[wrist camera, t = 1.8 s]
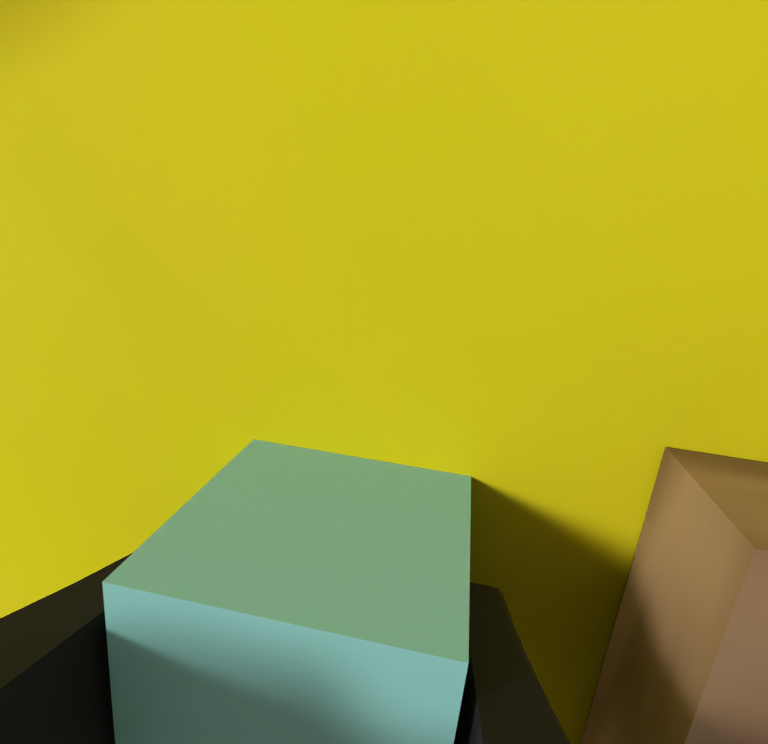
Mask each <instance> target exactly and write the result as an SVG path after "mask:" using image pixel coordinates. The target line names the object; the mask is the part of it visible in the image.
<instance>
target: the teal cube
mask: <svg viewBox="0 0 768 744" xmlns="http://www.w3.org/2000/svg"><path fill="white" fill-rule="evenodd" d="M470 528H471V476H465V475H459V474H453V473H447V472H442V471H436V470H430V469H424V468H418V467H412V466H406V465H401V464H395V463H389V462H383V461H377V460H371V459H365V458H360V457H354V456H348V455H342V454H336V453H330V452H324V451H319V450H313V449H307V448H301V447H295V446H289V445H283V444H278V443H272V442H266V441H260V440H253V441H252V442H251V443H249V444H248V445H247V446H246V447H245V448H244V449H243V450H242V451H241V452H240V453H239V454H238V455H237V456H236V457H235V458H234V459H232V460H231V461H230V462H229V463H228V464H227V465H226V466H225V467H224V468H223V469H222V470H221V471H220V472H219V473H218V474H216V475H215V476H214V477H213V478H212V479H211V480H210V481H209V482H208V483H207V484H206V485H205V486H204V487H203V488H202V489H201V490H199V491H198V492H197V493H196V494H195V495H194V496H193V497H192V498H191V499H190V500H189V501H188V502H187V503H186V504H185V505H184V506H182V507H181V508H180V509H179V510H178V511H177V512H176V513H175V514H174V515H173V516H172V517H171V518H170V519H169V520H168V521H166V522H165V523H164V524H163V525H162V526H161V527H160V528H159V529H158V530H157V531H156V532H155V533H154V534H153V535H152V536H151V537H149V538H148V539H147V540H146V541H145V542H144V543H143V544H142V545H141V546H140V547H139V548H138V549H137V550H136V551H135V552H133V553H132V554H131V555H130V556H129V557H128V558H127V559H126V560H125V561H124V562H123V563H122V564H121V565H120V566H119V567H118V568H116V569H115V570H114V571H113V572H112V573H111V574H110V575H109V576H108V577H107V578H106V579H105V580H104V581H103V582H102V585H103V598H104V610H105V623H106V635H107V648H108V660H109V673H110V685H111V698H112V710H113V723H114V735H115V744H454V739H455V734H456V728H457V723H458V717H459V712H460V707H461V701H462V696H463V690H464V685H465V680H466V674H467V669H468V663H469V597H470Z"/></svg>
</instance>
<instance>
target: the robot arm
mask: <svg viewBox="0 0 768 744" xmlns="http://www.w3.org/2000/svg"><path fill="white" fill-rule="evenodd" d="M131 554H132V553H131ZM131 554H129V555H128V556H126V557H124V558H122V559H120V560H118V561H116V562H114V563H112V564H110V565H108V566H107V567H105V568H103V569H101V570H99V571H97V572H95V573H93V574H91V575H89V576H87V577H85V578H83V579H81V580H80V581H78V582H76V583H74V584H72V585H70V586H68V587H65V588H63V589H61V590H59V591H57V592H55V593H53V594H51V595H49V596H47V597H45V598H42V599H40V600H38V601H36V602H34V603H32V604H30V605H28V606H26V607H24V608H22V609H19V610H17V611H15V612H13V613H11V614H9V615H7V616H5V617H3V618H0V744H115V735H114V723H113V710H112V698H111V685H110V673H109V660H108V648H107V635H106V623H105V610H104V598H103V585H102V582H103V581H104V580H105V579H106V578H107V577H108V576H109V575H110V574H111V573H112V572H113V571H114V570H115V569H116V568H118V567H119V566H120V565H121V564H122V563H123V562H124V561H125V560H126V559H127V558H128V557H129V556H130V555H131ZM454 744H570V742H569V740H568V738H567V736H566V735H565V733H564V731H563V729H562V727H561V725H560V723H559V721H558V719H557V717H556V716H555V714H554V712H553V710H552V708H551V706H550V704H549V702H548V700H547V697H546V695H545V693H544V691H543V689H542V687H541V685H540V683H539V681H538V679H537V677H536V675H535V673H534V671H533V669H532V666H531V664H530V662H529V660H528V658H527V655H526V653H525V651H524V648H523V646H522V644H521V641H520V639H519V637H518V634H517V632H516V630H515V627H514V625H513V622H512V619H511V617H510V614H509V612H508V609H507V606H506V603H505V600H504V597H503V594H502V593H501V592H500V590H499V589H498V588H496V587H491V586H486V585H481V584H476V583H471V582H470V597H469V663H468V669H467V674H466V680H465V685H464V690H463V696H462V701H461V707H460V712H459V717H458V723H457V728H456V734H455V739H454Z"/></svg>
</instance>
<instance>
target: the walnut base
mask: <svg viewBox="0 0 768 744" xmlns="http://www.w3.org/2000/svg"><path fill="white" fill-rule="evenodd" d="M581 744H768V463H765V462H759V461H752V460H746V459H740V458H733V457H727V456H720V455H714V454H707V453H701V452H695V451H688V450H682V449H675V448H669V447H665V451H664V454H663V458H662V461H661V465H660V468H659V472H658V475H657V479H656V482H655V486H654V489H653V493H652V496H651V500H650V503H649V506H648V510H647V513H646V517H645V520H644V524H643V527H642V531H641V534H640V538H639V541H638V545H637V548H636V552H635V555H634V559H633V562H632V566H631V569H630V573H629V576H628V580H627V583H626V587H625V590H624V594H623V597H622V601H621V604H620V608H619V611H618V615H617V618H616V622H615V625H614V629H613V632H612V636H611V639H610V643H609V646H608V650H607V653H606V657H605V660H604V664H603V667H602V671H601V674H600V678H599V681H598V684H597V688H596V691H595V695H594V698H593V702H592V705H591V709H590V712H589V716H588V719H587V723H586V726H585V730H584V733H583V737H582V740H581Z"/></svg>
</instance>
